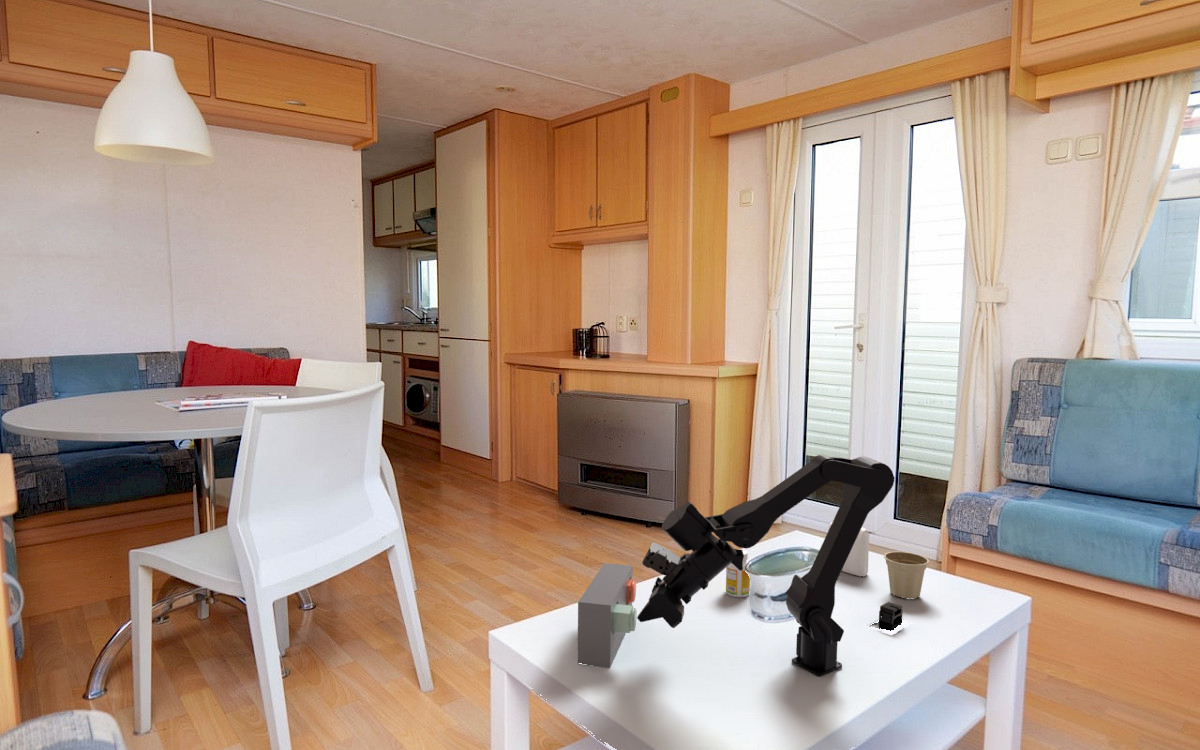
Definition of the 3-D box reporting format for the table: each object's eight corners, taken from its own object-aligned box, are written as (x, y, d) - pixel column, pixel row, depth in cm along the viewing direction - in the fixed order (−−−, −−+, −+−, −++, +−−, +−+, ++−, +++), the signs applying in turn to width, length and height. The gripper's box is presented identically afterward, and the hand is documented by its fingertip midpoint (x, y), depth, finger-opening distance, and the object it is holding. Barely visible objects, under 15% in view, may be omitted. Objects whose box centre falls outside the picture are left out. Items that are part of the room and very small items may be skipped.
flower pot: (873, 589, 163) (874, 553, 163) (906, 585, 166) (908, 549, 165) (902, 605, 154) (903, 566, 154) (936, 600, 157) (938, 562, 156)
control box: (631, 619, 145) (632, 565, 144) (610, 668, 125) (610, 605, 124) (603, 616, 146) (604, 563, 146) (577, 664, 126) (578, 602, 125)
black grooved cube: (891, 642, 137) (892, 619, 137) (857, 630, 143) (858, 608, 142) (921, 625, 145) (922, 603, 145) (887, 613, 151) (888, 592, 150)
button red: (635, 597, 142) (636, 578, 142) (632, 605, 139) (632, 585, 138) (613, 595, 144) (614, 576, 143) (609, 603, 140) (609, 583, 139)
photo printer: (824, 566, 178) (826, 519, 177) (834, 563, 181) (836, 516, 180) (860, 578, 170) (862, 528, 169) (870, 575, 173) (872, 525, 172)
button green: (636, 625, 129) (636, 604, 129) (632, 635, 125) (632, 613, 125) (612, 623, 130) (612, 602, 130) (607, 632, 126) (607, 610, 126)
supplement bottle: (748, 589, 162) (749, 548, 162) (751, 598, 157) (752, 556, 156) (724, 588, 163) (725, 547, 162) (726, 597, 157) (727, 555, 157)
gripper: (676, 517, 134) (619, 568, 137) (663, 547, 115) (597, 605, 119) (717, 561, 132) (658, 611, 136) (709, 599, 114) (641, 656, 118)
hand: (639, 619), depth 127 cm, fingers closed
